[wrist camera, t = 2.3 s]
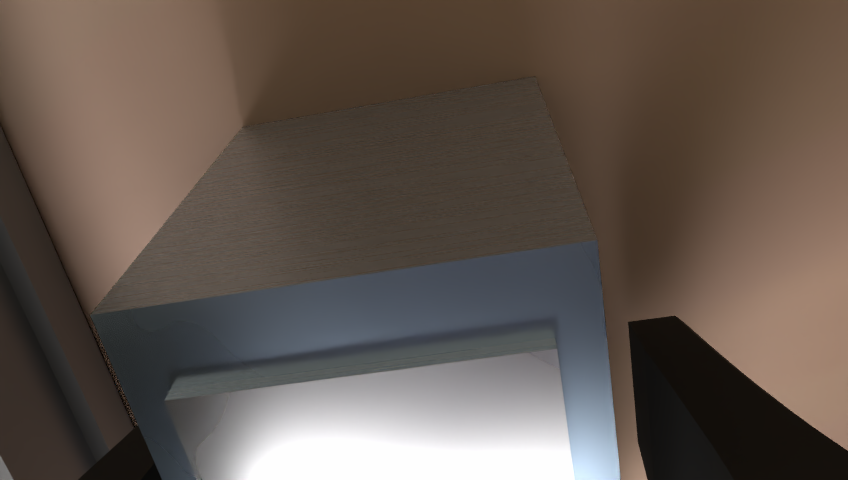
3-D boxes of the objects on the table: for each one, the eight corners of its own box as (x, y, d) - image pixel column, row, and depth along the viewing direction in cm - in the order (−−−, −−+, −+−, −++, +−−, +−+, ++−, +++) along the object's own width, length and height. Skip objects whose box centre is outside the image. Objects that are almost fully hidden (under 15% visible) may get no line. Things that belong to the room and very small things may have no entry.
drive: (588, 516, 14) (659, 854, 9) (368, 540, 14) (325, 873, 9) (534, 74, 10) (600, 249, 5) (245, 123, 11) (81, 324, 6)
